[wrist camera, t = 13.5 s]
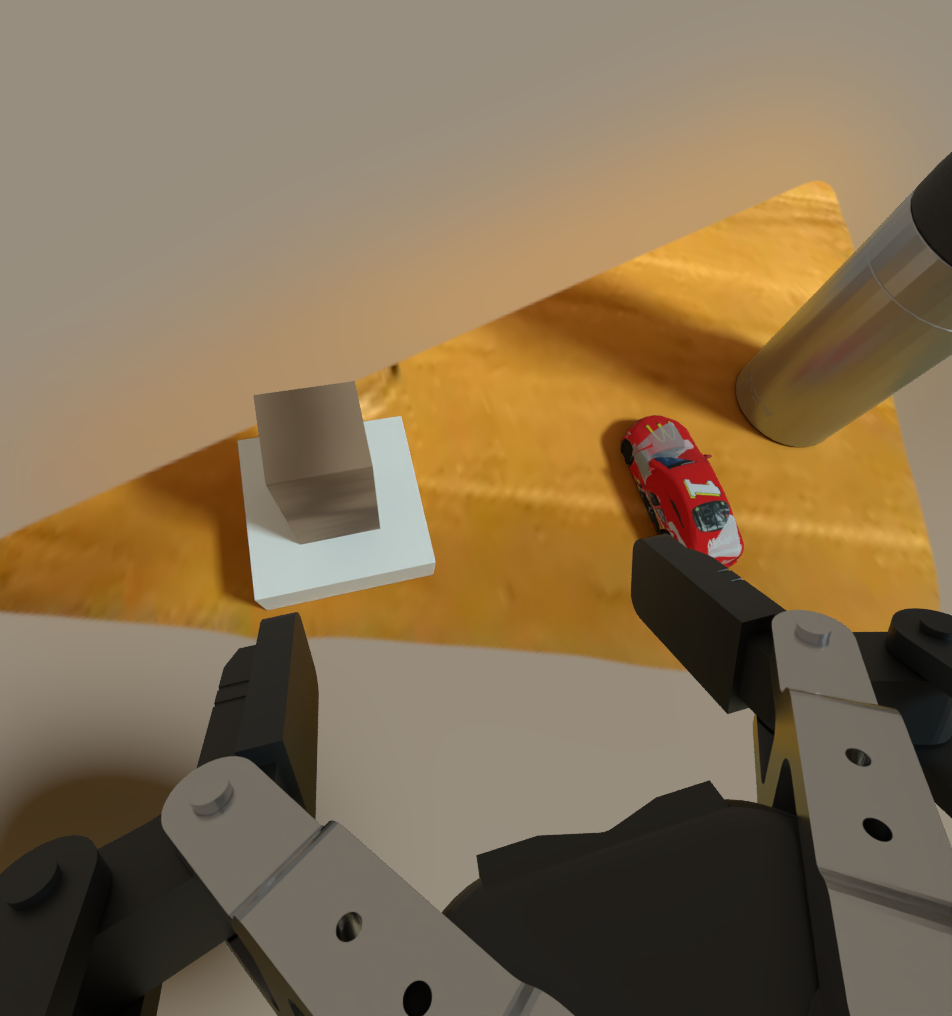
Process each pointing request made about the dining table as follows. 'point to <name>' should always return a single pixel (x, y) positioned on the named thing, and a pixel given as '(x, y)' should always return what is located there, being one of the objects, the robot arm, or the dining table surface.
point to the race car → (681, 488)
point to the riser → (347, 559)
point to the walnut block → (318, 461)
